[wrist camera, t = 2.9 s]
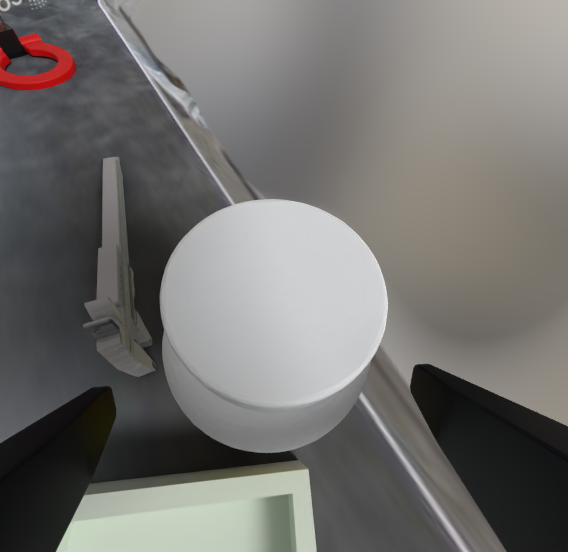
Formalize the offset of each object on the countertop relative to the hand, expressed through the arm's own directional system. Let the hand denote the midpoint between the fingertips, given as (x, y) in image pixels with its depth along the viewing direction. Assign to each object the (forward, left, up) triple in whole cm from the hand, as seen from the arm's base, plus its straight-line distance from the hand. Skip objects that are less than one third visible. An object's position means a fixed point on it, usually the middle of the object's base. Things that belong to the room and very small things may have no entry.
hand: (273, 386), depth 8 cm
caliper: (+12, +10, -10) cm, 18 cm away
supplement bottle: (+2, 0, -9) cm, 10 cm away
